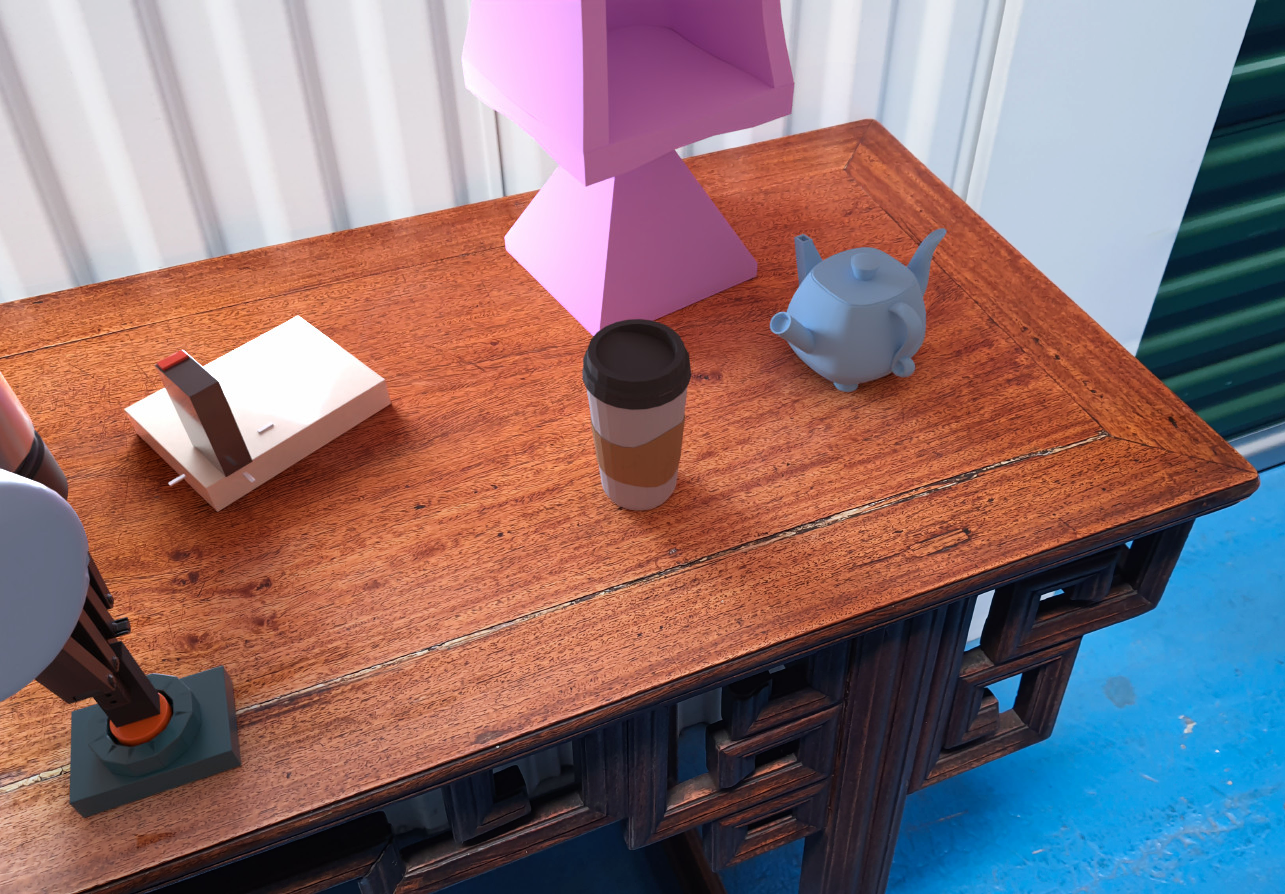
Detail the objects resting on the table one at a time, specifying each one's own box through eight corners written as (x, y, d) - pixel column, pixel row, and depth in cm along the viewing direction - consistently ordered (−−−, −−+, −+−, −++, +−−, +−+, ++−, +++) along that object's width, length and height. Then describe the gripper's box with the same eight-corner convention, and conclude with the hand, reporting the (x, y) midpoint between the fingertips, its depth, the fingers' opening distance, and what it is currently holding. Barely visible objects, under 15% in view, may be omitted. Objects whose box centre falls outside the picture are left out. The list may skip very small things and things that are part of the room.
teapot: (789, 299, 103) (800, 203, 94) (924, 320, 100) (947, 223, 92) (761, 396, 92) (771, 298, 84) (911, 422, 90) (936, 323, 82)
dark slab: (253, 461, 83) (218, 378, 76) (226, 477, 82) (188, 394, 75) (218, 430, 86) (182, 347, 79) (192, 445, 84) (152, 362, 78)
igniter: (83, 818, 65) (56, 790, 62) (84, 727, 69) (59, 697, 66) (241, 766, 67) (223, 736, 64) (232, 681, 72) (214, 650, 69)
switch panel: (212, 539, 81) (199, 514, 79) (116, 443, 89) (102, 418, 87) (407, 415, 91) (400, 389, 89) (305, 339, 99) (297, 313, 97)
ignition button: (120, 760, 65) (109, 747, 63) (119, 714, 67) (109, 700, 66) (177, 742, 66) (168, 728, 64) (175, 697, 68) (166, 683, 67)
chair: (595, 355, 97) (563, -176, 64) (488, 248, 110) (418, -238, 78) (774, 278, 105) (825, -225, 73) (656, 186, 118) (654, -274, 86)
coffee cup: (644, 436, 89) (642, 301, 78) (708, 488, 84) (715, 352, 74) (570, 481, 85) (557, 345, 74) (633, 538, 80) (628, 403, 70)
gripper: (-113, 398, 51) (78, 650, 68) (-155, 589, 43) (75, 822, 60) (43, 363, 53) (192, 616, 70) (33, 539, 45) (205, 779, 62)
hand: (138, 711), depth 65 cm, fingers closed
